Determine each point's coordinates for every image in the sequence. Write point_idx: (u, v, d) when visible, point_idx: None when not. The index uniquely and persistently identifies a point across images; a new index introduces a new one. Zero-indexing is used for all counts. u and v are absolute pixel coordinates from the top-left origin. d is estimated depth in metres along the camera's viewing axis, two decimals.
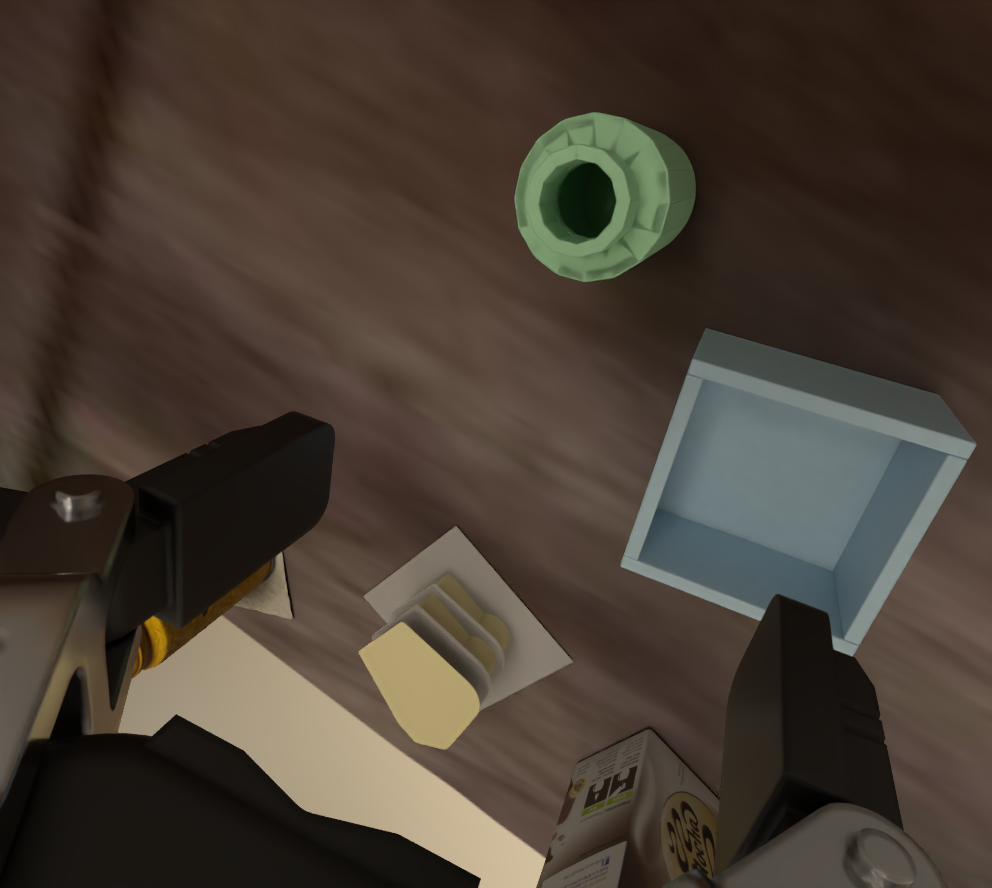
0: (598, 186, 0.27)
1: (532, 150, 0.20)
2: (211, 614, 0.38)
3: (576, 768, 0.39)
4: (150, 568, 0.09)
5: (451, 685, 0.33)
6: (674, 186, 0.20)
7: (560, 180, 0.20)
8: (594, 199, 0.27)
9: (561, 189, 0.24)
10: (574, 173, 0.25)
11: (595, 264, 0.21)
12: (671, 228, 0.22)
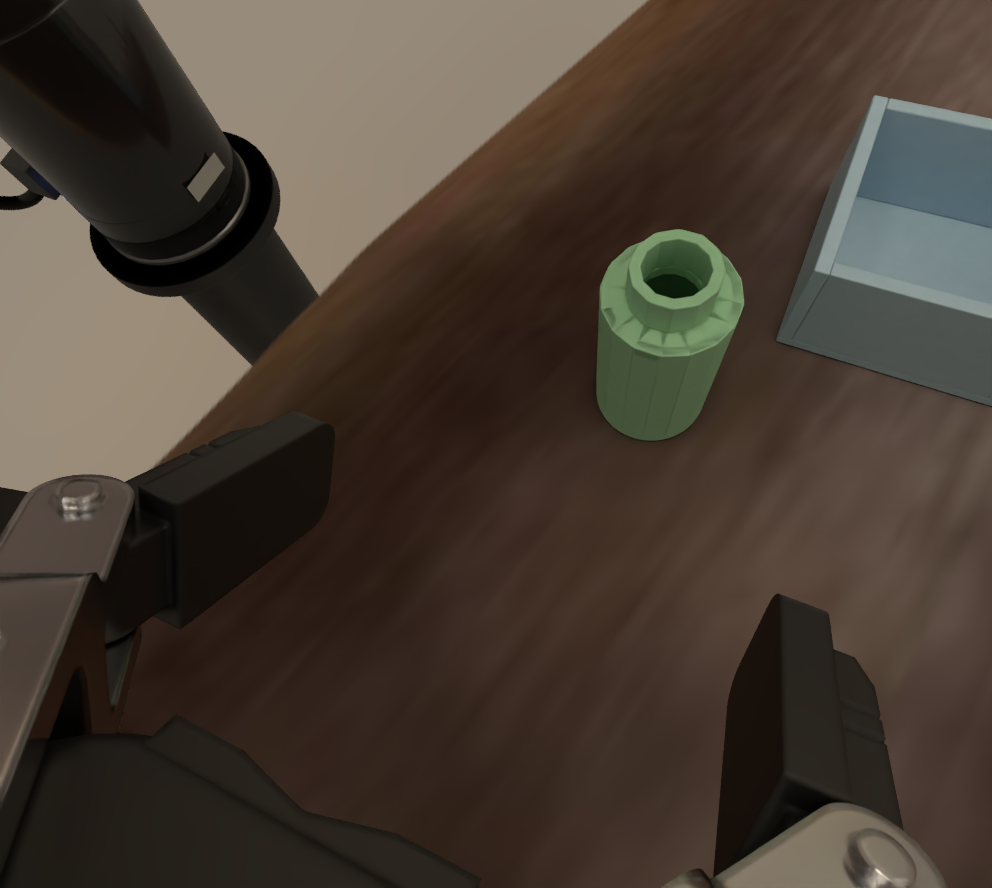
0: None
1: (621, 335, 0.22)
2: None
3: None
4: (150, 568, 0.09)
5: None
6: None
7: None
8: None
9: None
10: None
11: (728, 292, 0.22)
12: None
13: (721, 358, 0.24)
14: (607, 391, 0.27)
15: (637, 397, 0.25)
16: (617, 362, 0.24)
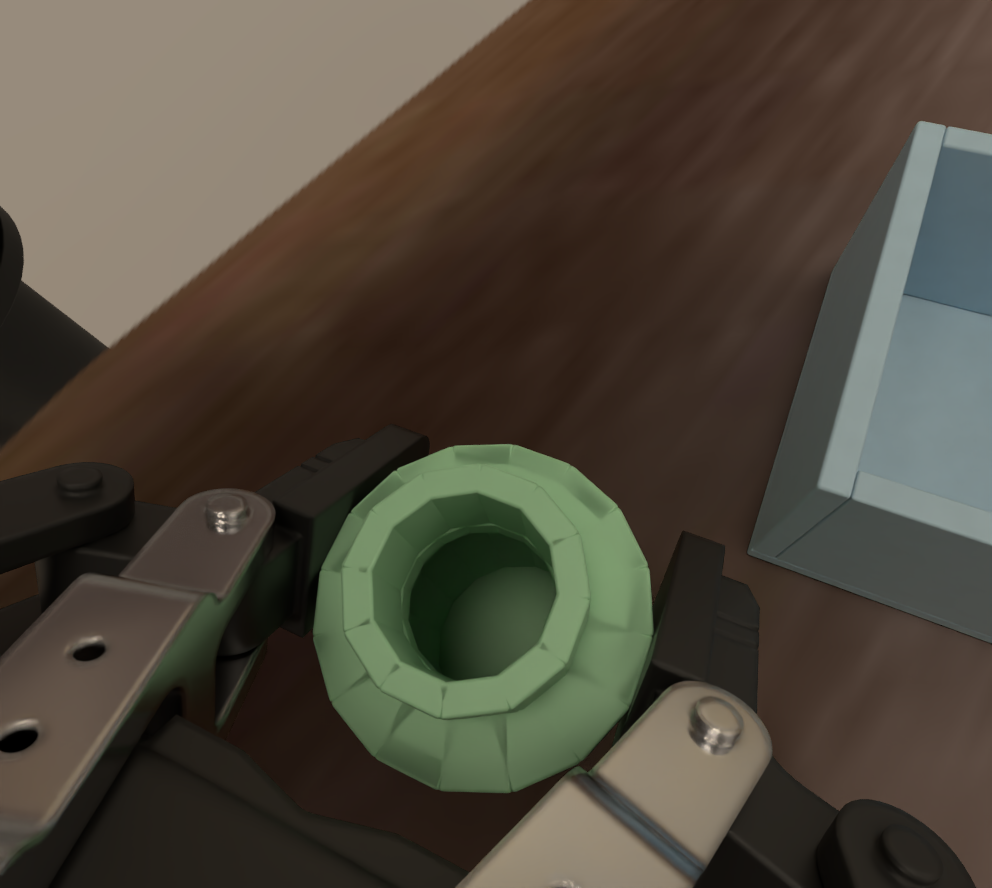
0: None
1: (348, 719, 0.09)
2: None
3: None
4: (284, 579, 0.09)
5: None
6: None
7: (425, 662, 0.09)
8: None
9: None
10: None
11: (615, 603, 0.09)
12: None
13: None
14: None
15: None
16: None
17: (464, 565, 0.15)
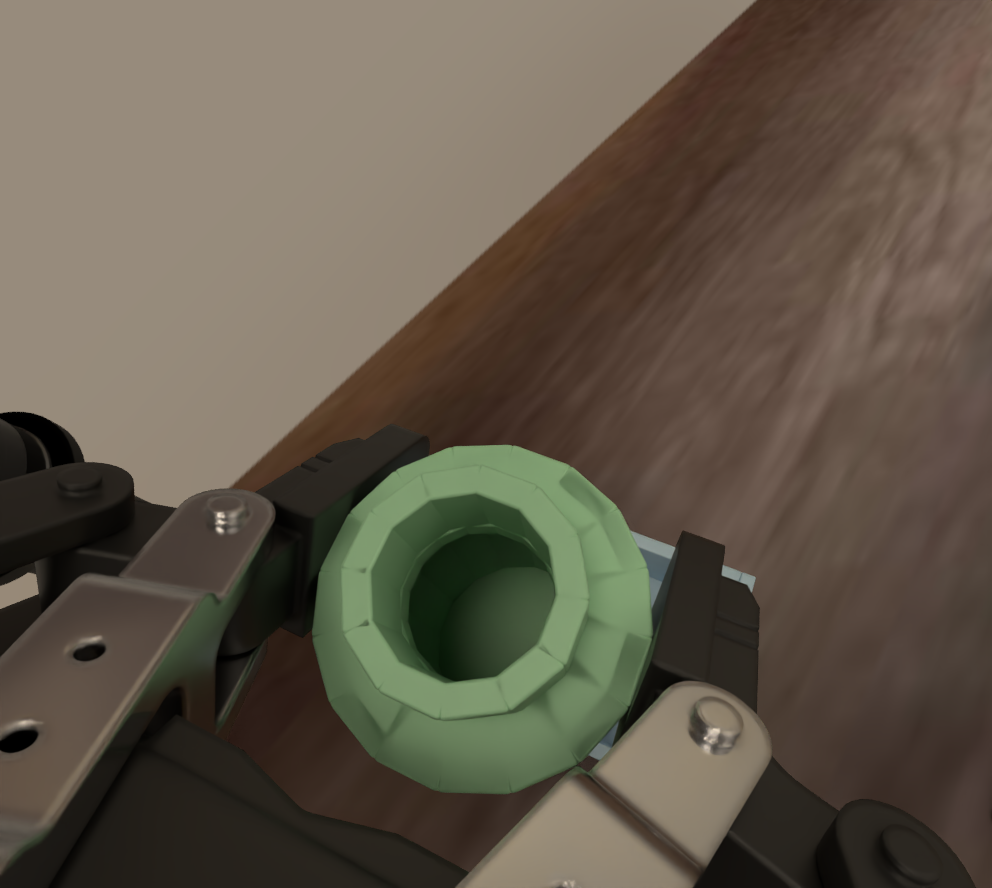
0: None
1: (347, 719, 0.09)
2: None
3: None
4: (284, 579, 0.09)
5: None
6: None
7: (424, 663, 0.09)
8: None
9: None
10: None
11: (614, 604, 0.09)
12: None
13: None
14: None
15: None
16: None
17: (464, 566, 0.15)
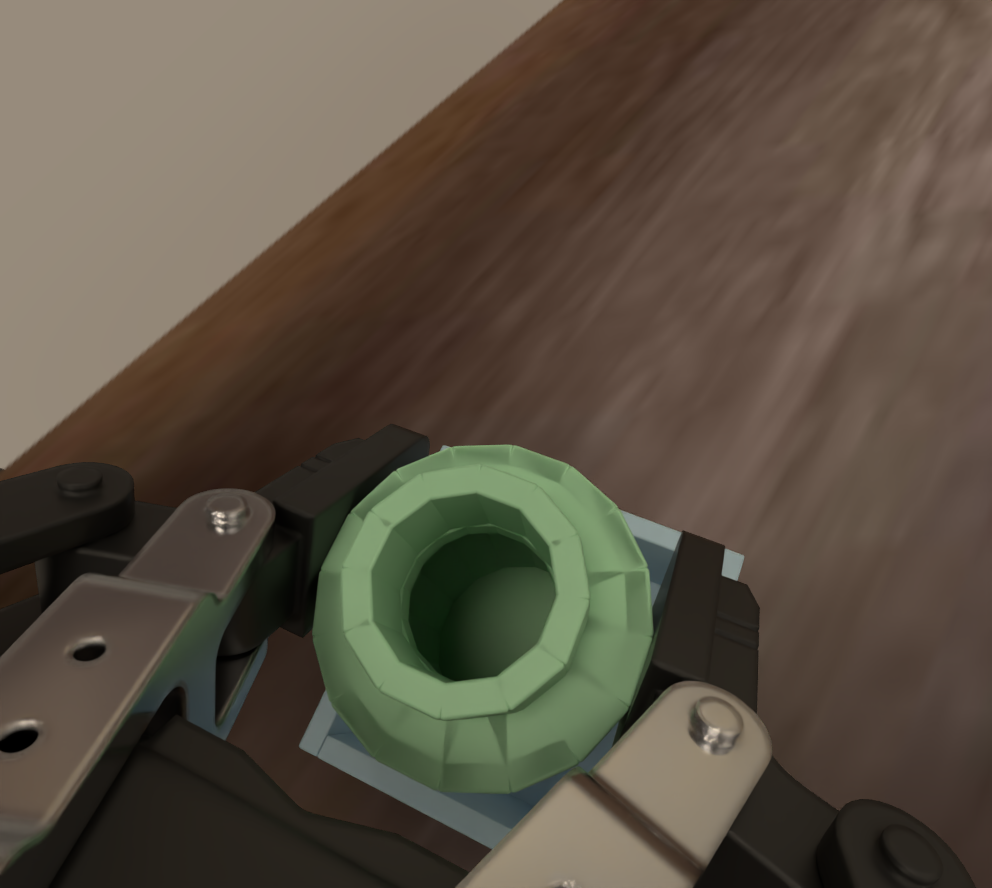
0: None
1: (347, 719, 0.09)
2: None
3: None
4: (284, 579, 0.09)
5: None
6: None
7: (424, 663, 0.09)
8: None
9: None
10: None
11: (615, 603, 0.09)
12: None
13: None
14: None
15: None
16: None
17: (464, 565, 0.15)
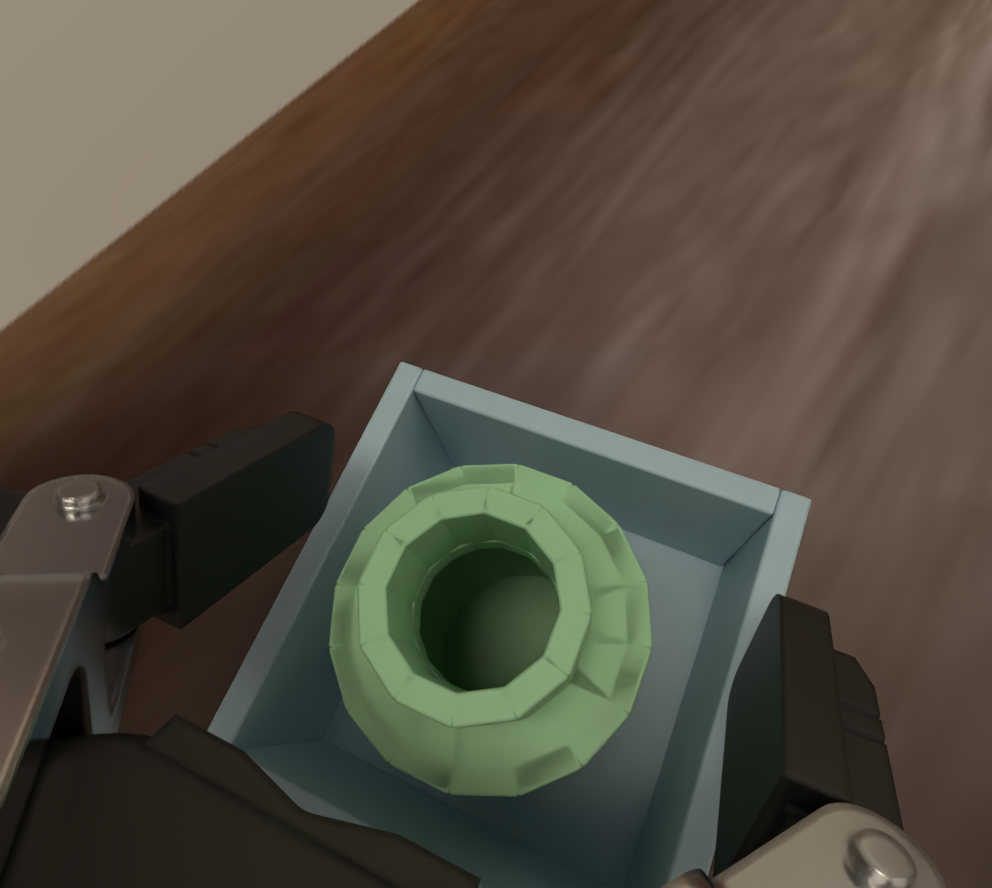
0: None
1: (363, 726, 0.09)
2: None
3: None
4: (150, 568, 0.09)
5: None
6: None
7: (435, 672, 0.10)
8: None
9: None
10: None
11: (615, 616, 0.10)
12: None
13: None
14: None
15: None
16: None
17: (471, 575, 0.16)
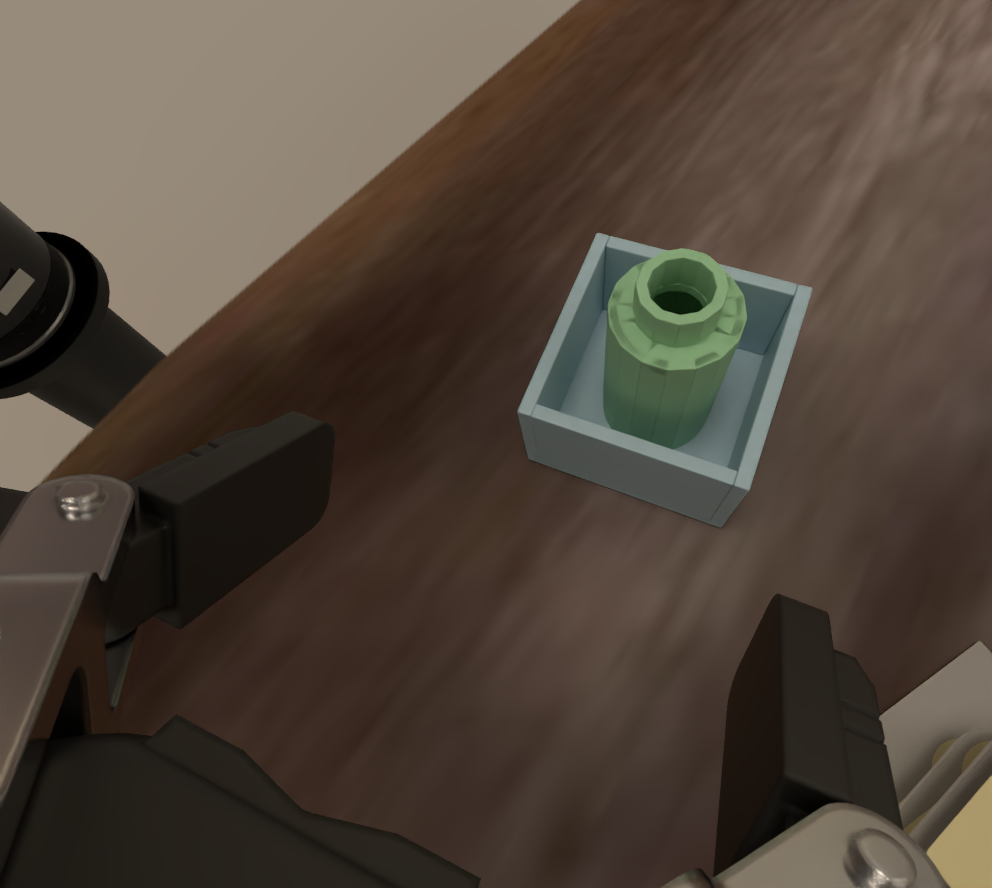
0: None
1: (629, 350, 0.23)
2: None
3: None
4: (150, 568, 0.09)
5: None
6: None
7: None
8: None
9: None
10: None
11: (731, 307, 0.23)
12: None
13: (725, 371, 0.25)
14: (615, 404, 0.28)
15: (645, 409, 0.26)
16: (625, 376, 0.25)
17: None
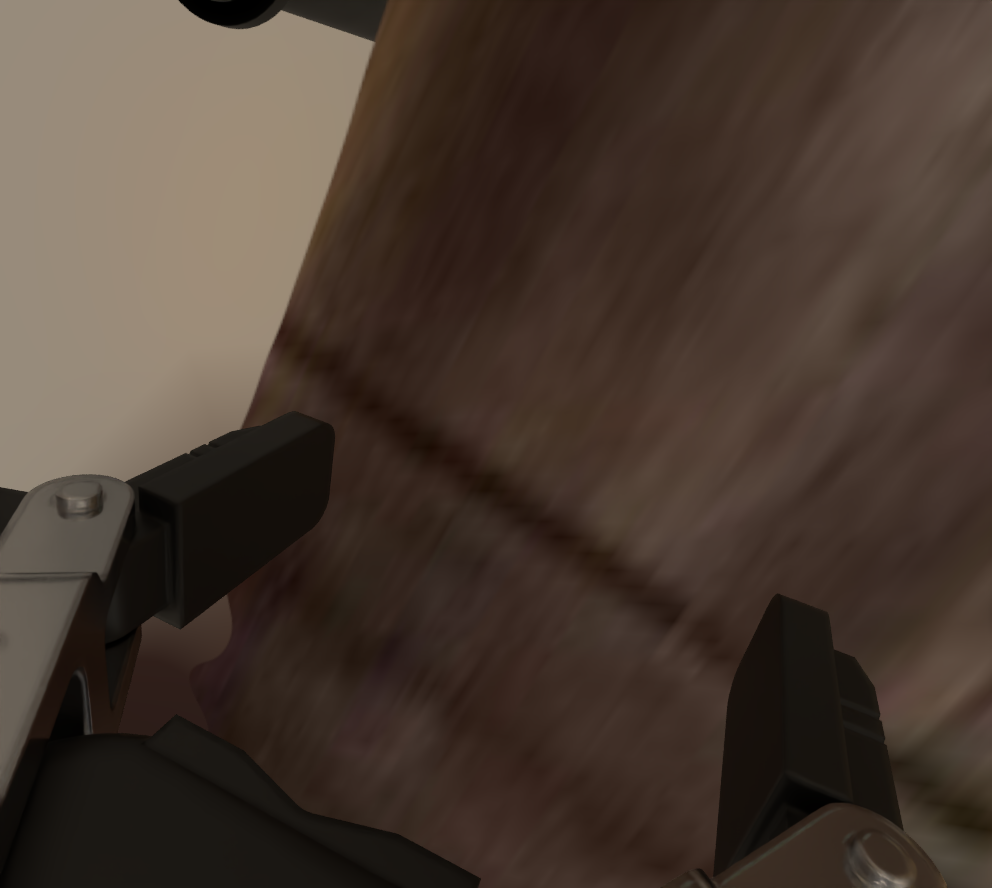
0: None
1: None
2: None
3: None
4: (150, 568, 0.09)
5: None
6: None
7: None
8: None
9: None
10: None
11: None
12: None
13: None
14: None
15: None
16: None
17: None
